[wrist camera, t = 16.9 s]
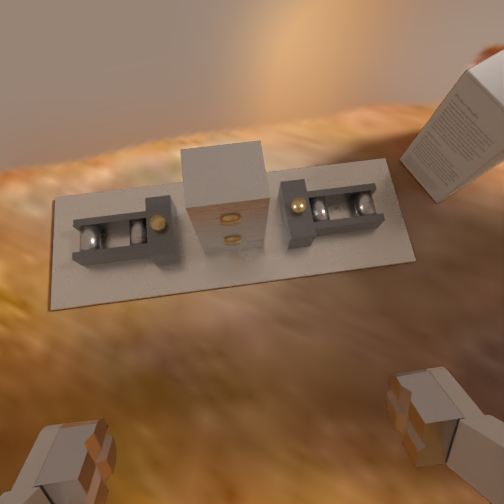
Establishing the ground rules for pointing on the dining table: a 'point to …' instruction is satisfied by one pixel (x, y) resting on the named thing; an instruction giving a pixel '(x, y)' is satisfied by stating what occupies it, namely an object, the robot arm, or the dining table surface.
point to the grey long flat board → (229, 262)
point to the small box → (462, 132)
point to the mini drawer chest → (226, 195)
